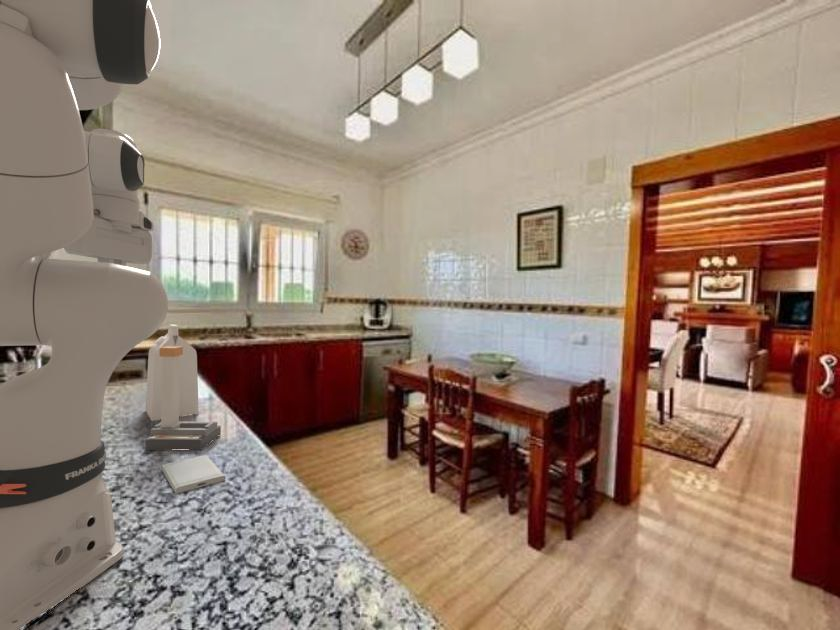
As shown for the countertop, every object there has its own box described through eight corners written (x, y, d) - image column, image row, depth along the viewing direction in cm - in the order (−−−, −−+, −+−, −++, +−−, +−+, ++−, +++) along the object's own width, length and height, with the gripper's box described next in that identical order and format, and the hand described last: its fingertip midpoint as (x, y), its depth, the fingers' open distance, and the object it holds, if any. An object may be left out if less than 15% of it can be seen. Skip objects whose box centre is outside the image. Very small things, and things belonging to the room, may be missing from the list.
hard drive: (161, 464, 77) (175, 487, 68) (207, 454, 82) (225, 474, 73) (161, 472, 77) (175, 496, 68) (207, 462, 82) (225, 482, 73)
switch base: (200, 450, 87) (201, 431, 87) (145, 450, 86) (145, 430, 86) (220, 435, 97) (220, 417, 96) (170, 434, 96) (170, 417, 96)
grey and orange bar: (173, 433, 89) (175, 348, 89) (158, 433, 89) (159, 347, 88) (181, 428, 93) (182, 346, 92) (166, 428, 92) (168, 346, 92)
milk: (198, 414, 113) (200, 326, 112) (151, 421, 106) (153, 326, 105) (189, 405, 122) (191, 323, 121) (145, 410, 114) (146, 324, 114)
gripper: (89, 202, 69) (89, 279, 69) (158, 225, 89) (157, 284, 90) (52, 200, 68) (51, 278, 69) (129, 224, 89) (128, 283, 89)
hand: (112, 282), depth 79 cm, fingers closed
